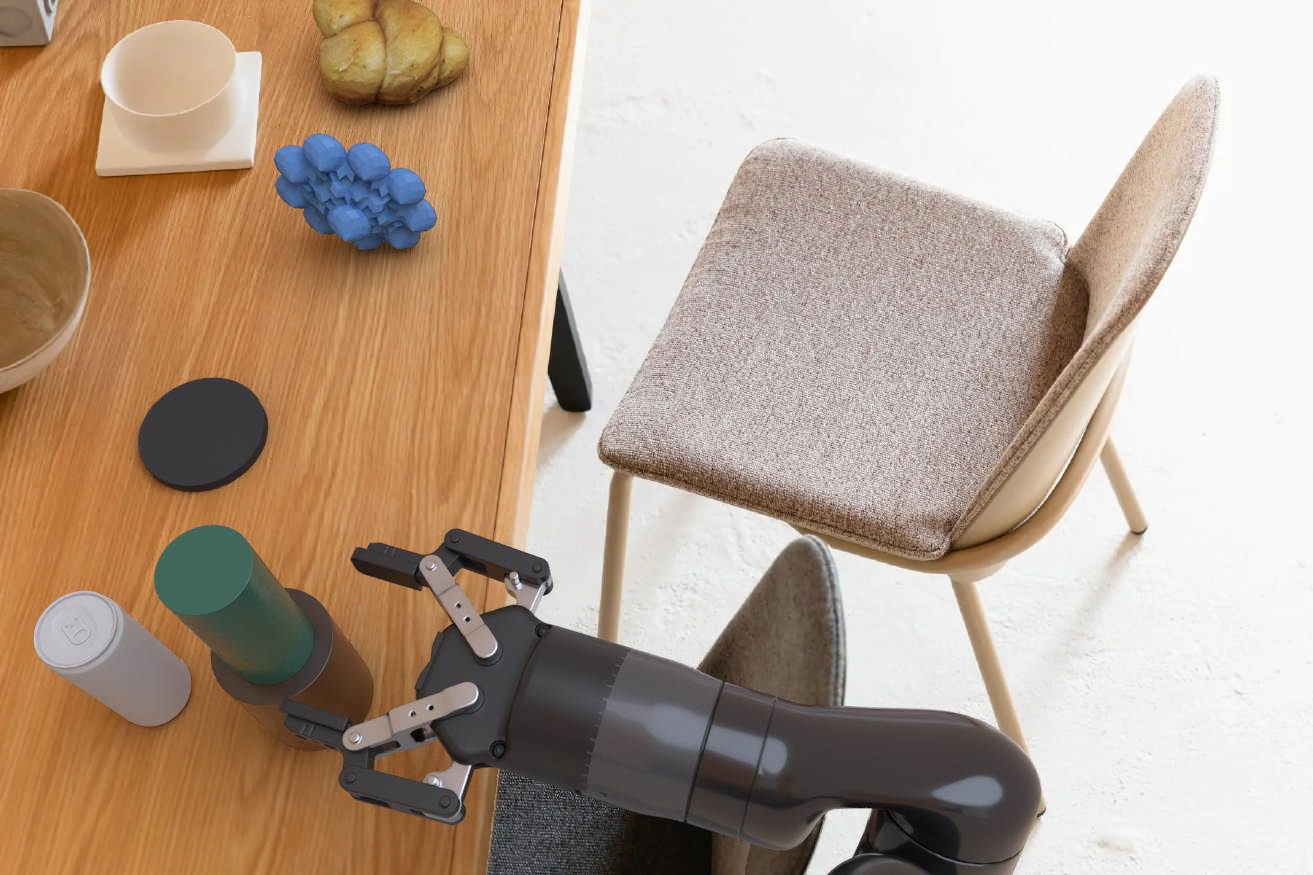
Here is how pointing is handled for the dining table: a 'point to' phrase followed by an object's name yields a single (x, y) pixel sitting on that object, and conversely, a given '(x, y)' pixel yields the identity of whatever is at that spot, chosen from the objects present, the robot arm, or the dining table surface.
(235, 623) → the tea tin
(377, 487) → the dining table surface
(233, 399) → the mat
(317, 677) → the stand
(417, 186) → the grapes
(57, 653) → the beverage can
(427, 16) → the bread roll
